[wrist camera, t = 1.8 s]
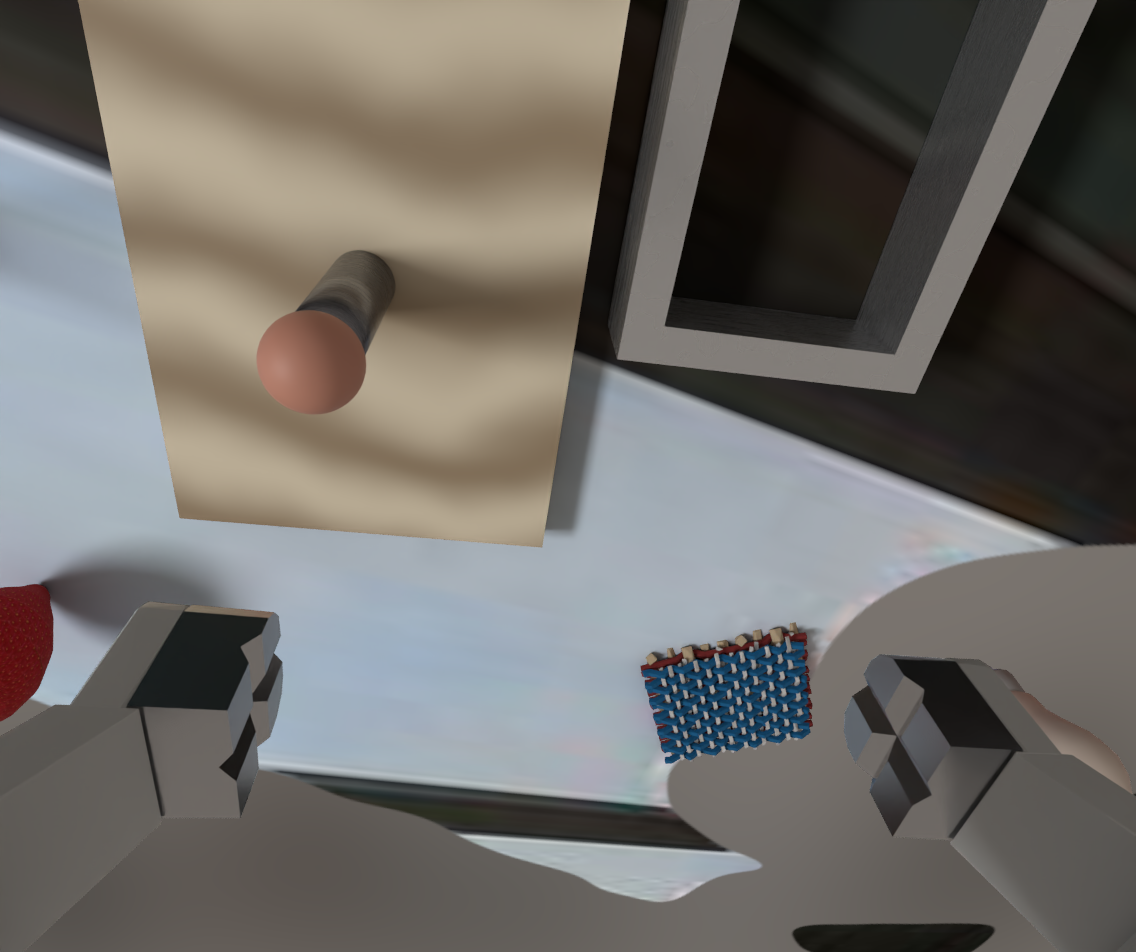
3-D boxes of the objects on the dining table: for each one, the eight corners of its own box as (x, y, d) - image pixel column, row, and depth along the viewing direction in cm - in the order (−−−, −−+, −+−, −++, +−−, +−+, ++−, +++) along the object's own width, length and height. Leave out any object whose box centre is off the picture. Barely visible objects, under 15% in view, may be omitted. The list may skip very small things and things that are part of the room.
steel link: (708, -223, 22) (741, -268, 18) (1080, -140, 23) (1174, -167, 20) (607, 323, 31) (617, 359, 28) (875, 356, 33) (915, 393, 30)
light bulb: (920, 706, 48) (1014, 869, 38) (958, 638, 44) (1072, 800, 35) (1009, 707, 48) (1123, 868, 39) (1054, 641, 45) (1191, 801, 35)
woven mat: (809, 716, 49) (820, 741, 47) (661, 745, 49) (666, 771, 48) (802, 612, 43) (813, 637, 41) (635, 647, 44) (639, 672, 42)
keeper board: (68, -183, 21) (-282, -341, 12) (636, -72, 24) (708, -134, 14) (191, 500, 35) (73, 670, 26) (541, 529, 38) (546, 696, 28)
